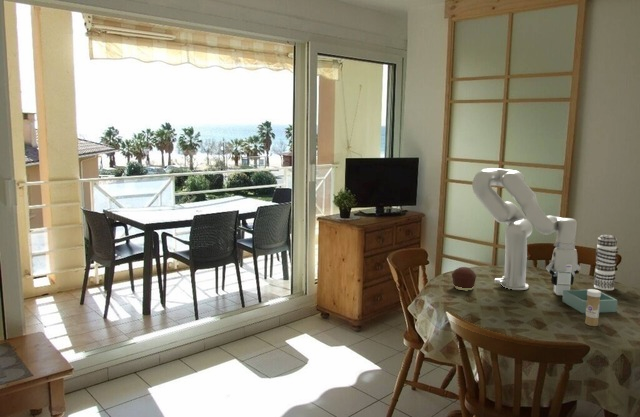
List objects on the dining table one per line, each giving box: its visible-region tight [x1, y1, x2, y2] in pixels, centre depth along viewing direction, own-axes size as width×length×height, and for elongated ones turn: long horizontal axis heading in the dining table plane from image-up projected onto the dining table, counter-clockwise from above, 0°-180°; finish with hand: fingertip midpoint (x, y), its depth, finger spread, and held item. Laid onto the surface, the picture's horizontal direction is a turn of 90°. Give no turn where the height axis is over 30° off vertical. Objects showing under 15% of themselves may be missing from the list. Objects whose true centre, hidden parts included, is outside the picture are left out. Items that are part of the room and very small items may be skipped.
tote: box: [562, 288, 618, 314], centre depth 211 cm, size 15×15×5 cm
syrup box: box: [553, 264, 572, 297], centre depth 226 cm, size 6×6×14 cm
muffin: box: [451, 266, 477, 288], centre depth 237 cm, size 12×11×10 cm
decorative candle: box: [593, 234, 619, 291], centre depth 235 cm, size 9×9×25 cm
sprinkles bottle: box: [584, 288, 602, 327], centre depth 191 cm, size 5×5×13 cm
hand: (562, 283), depth 226 cm, fingers closed on syrup box, 6 cm apart
